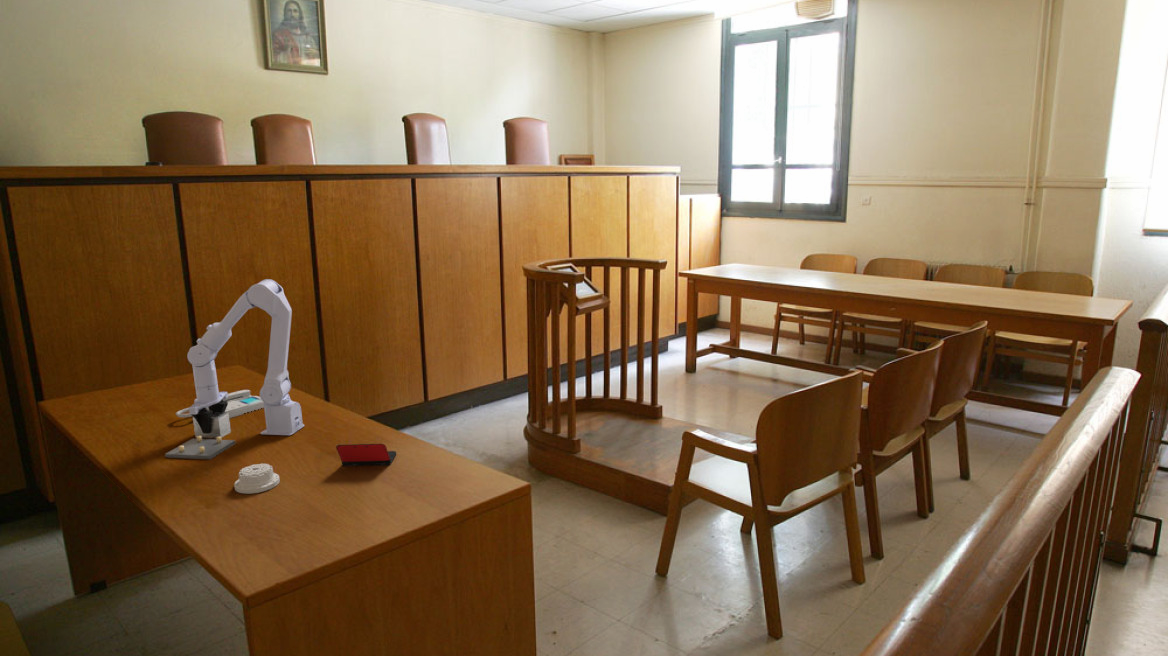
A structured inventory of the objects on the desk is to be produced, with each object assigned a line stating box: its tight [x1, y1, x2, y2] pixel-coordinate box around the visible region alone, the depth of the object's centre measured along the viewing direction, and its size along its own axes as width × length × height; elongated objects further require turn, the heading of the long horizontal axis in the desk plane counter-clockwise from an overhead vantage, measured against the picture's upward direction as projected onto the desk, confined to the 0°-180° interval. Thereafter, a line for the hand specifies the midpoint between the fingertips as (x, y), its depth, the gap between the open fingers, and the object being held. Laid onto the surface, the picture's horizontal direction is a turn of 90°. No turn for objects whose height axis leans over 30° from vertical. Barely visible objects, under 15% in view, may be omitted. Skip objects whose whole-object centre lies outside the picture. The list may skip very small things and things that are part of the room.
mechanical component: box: [233, 462, 281, 495], centre depth 174 cm, size 10×4×10 cm
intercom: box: [175, 389, 264, 419], centre depth 226 cm, size 13×4×25 cm
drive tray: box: [164, 436, 236, 460], centre depth 196 cm, size 13×11×2 cm
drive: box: [192, 412, 232, 439], centre depth 207 cm, size 8×5×6 cm, turn 82°
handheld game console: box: [335, 443, 397, 467], centre depth 186 cm, size 12×11×7 cm
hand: (212, 429), depth 208 cm, fingers closed on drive, 5 cm apart
